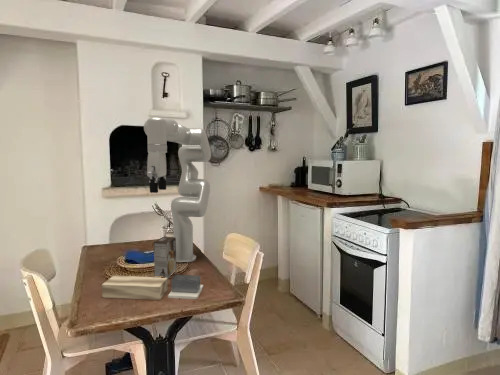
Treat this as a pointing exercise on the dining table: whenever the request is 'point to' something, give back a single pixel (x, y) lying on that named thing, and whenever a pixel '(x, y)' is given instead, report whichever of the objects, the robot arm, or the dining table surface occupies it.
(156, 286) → the body
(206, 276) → the dining table surface
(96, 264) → the dining table surface
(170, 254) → the coffee box
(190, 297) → the tile
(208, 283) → the dining table surface
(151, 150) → the robot arm
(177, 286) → the grey metal block
